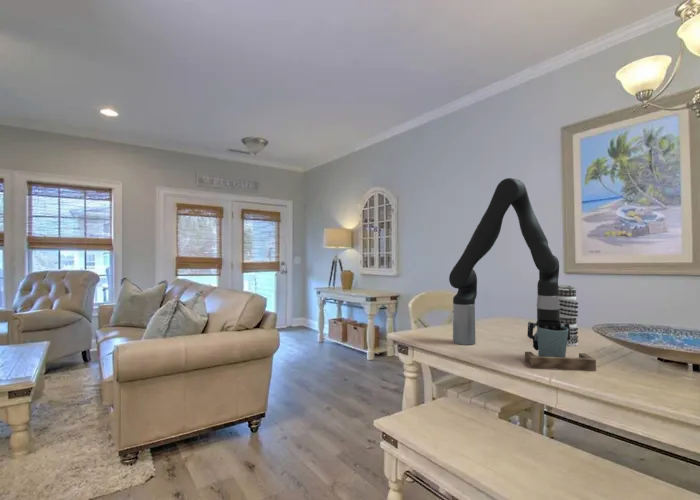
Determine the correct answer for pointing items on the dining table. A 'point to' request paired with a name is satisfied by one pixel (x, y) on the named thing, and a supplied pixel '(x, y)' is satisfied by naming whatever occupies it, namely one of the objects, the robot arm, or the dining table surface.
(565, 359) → the walnut rail
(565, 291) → the decorative candle
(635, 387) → the dining table surface
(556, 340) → the teal cup
